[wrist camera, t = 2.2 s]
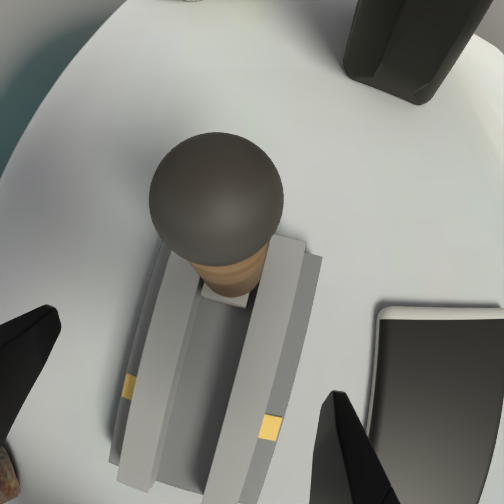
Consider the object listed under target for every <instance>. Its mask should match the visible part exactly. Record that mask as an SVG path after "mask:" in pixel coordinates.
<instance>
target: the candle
mask: <svg viewBox="0 0 504 504" xmlns="http://www.w3.org/2000/svg"><path fill="white" fill-rule="evenodd" d="M19 492H20V488H19V481H18V479H17V477H16V476H15V472H14V468H13V465H12V463H11V460H10V457H9V455H8V453H7V451H6V449H5V448H4V447H3V446H2V448H1V450H0V504H3V503H5V502H7V501H9V500H11V499H13V498H15V497H17V496H18V494H19Z"/></svg>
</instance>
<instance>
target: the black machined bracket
mask: <svg viewBox="0 0 504 504" xmlns="http://www.w3.org/2000/svg"><path fill="white" fill-rule="evenodd" d="M492 1H493V0H358V3H357V7H356V10H355V14H354V19H353V23H352V27H351V31H350V35H349V39H348V43H347V47H346V51H345V55H344V59H343V64H344V67H345V69H346V71H347V72H348V74H349V75H350V76H351V77H352V79H354V80H356V81H359V82H362V83H364V84H367V85H370V86H372V87H375V88H378V89H380V90H383V91H385V92H388V93H390V94H393V95H395V96H397V97H400V98H402V99H404V100H407V101H409V102H411V103H413V104H416V105H422V104H425V103H427V102H428V101H429V100H430V99H431V98H432V97H433V96H434V94H435V93H436V91H437V90H438V88H439V87H440V85H441V84H442V82H443V81H444V79H445V78H446V76H447V74H448V73H449V71H450V70H451V68H452V67H453V65H454V64H455V62H456V61H457V59H458V57H459V56H460V54H461V53H462V51H463V50H464V48H465V46H466V45H467V43H468V42H469V40H470V38H471V37H472V35H473V33H474V32H475V30H476V29H477V27H478V25H479V24H480V22H481V20H482V19H483V17H484V15H485V13H486V12H487V10H488V8H489V7H490V5H491V3H492Z"/></svg>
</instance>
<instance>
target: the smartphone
mask: <svg viewBox="0 0 504 504" xmlns="http://www.w3.org/2000/svg"><path fill="white" fill-rule="evenodd" d="M503 398H504V308H447V307H408V306H388V307H385V308H383V309H381V310H380V311H379V313H378V315H377V319H376V337H375V353H374V366H373V377H372V387H371V396H370V405H369V412H368V420H367V427H366V434H367V436H368V438H369V440H370V442H371V444H372V446H373V448H374V450H375V452H376V454H377V456H378V458H379V460H380V462H381V464H382V466H383V469H384V471H385V473H386V475H387V477H388V479H389V481H390V483H391V487H393V489H394V491H395V493H396V495H397V497H398V499H399V501H400V503H401V504H478V503H479V500H480V497H481V494H482V491H483V488H484V485H485V482H486V478H487V475H488V471H489V468H490V464H491V460H492V456H493V452H494V448H495V443H496V439H497V434H498V429H499V424H500V418H501V412H502V405H503Z"/></svg>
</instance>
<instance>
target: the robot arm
mask: <svg viewBox="0 0 504 504" xmlns="http://www.w3.org/2000/svg"><path fill="white" fill-rule="evenodd" d="M60 331H61V322H60V319H59V315H58V311H57V309H56V308H55V307H52V306H50V305H47V304H46V305H43V306H41V307H38V308H36V309H34V310H32V311H30V312H27V313H25V314H23V315H21V316H19V317H16V318H14V319H12V320H10V321H8V322H6V323H4V324H1V325H0V450H1V448H2V446H3V443H4V441H5V439H6V437H7V435H8V433H9V431H10V429H11V427H12V425H13V423H14V421H15V419H16V417H17V415H18V413H19V411H20V409H21V407H22V405H23V403H24V401H25V400H26V398H27V396H28V394H29V392H30V390H31V389H32V387H33V385H34V383H35V381H36V380H37V378H38V376H39V374H40V373H41V371H42V369H43V367H44V365H45V363H46V361H47V359H48V357H49V355H50V352H51V350H52V348H53V346H54V344H55V342H56V340H57V338H58V336H59V333H60ZM309 504H401V503H400V501H399V499H398V497H397V495H396V493H395V491H394V489H393V487H391V483H390V481H389V479H388V477H387V475H386V473H385V471H384V469H383V466H382V464H381V462H380V460H379V458H378V456H377V454H376V452H375V450H374V448H373V446H372V444H371V442H370V440H369V438H368V436H367V434H366V432H365V430H364V428H363V426H362V424H361V422H360V420H359V418H358V416H357V414H356V412H355V410H354V408H353V406H352V404H351V402H350V400H349V398H348V396H347V394H346V393H345V392H342V391H336V390H333V391H331V392H330V394H329V395H328V397H327V398H326V400H325V401H324V403H323V404H322V407H321V410H320V416H319V423H318V428H317V434H316V440H315V445H314V451H313V461H312V476H311V489H310V501H309Z"/></svg>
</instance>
